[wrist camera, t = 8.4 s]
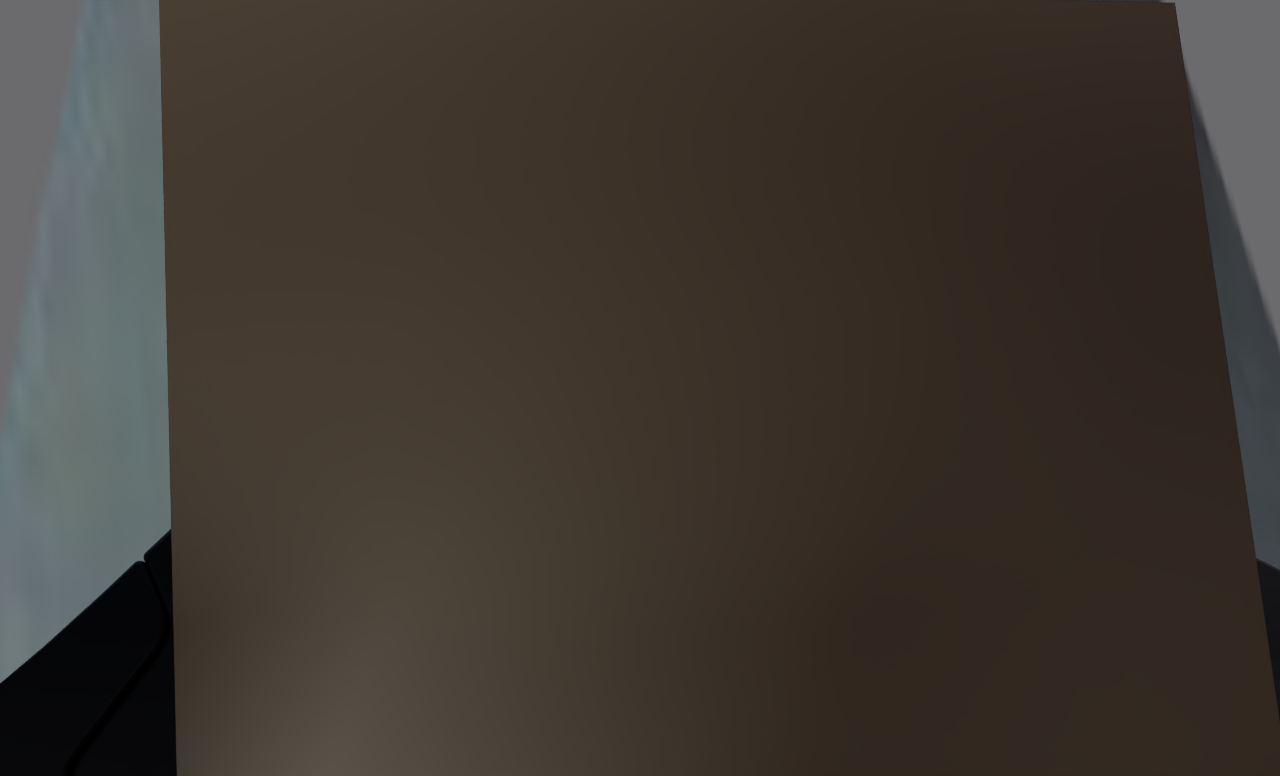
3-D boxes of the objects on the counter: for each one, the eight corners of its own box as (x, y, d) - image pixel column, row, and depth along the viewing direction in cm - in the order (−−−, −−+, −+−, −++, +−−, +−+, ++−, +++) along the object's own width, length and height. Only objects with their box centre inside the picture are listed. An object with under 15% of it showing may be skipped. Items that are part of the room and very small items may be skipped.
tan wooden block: (692, 561, 15) (1318, 993, 3) (479, 583, 14) (185, 1256, 2) (675, 354, 15) (1175, 2, 3) (466, 366, 14) (160, -21, 3)
